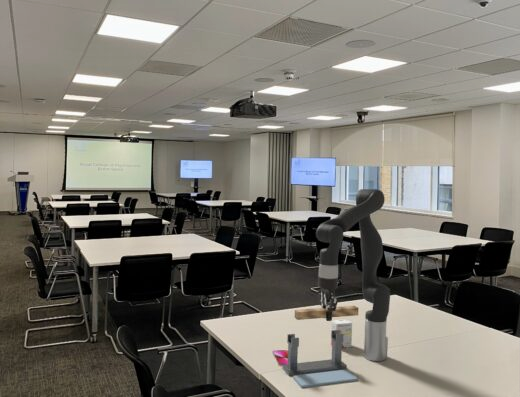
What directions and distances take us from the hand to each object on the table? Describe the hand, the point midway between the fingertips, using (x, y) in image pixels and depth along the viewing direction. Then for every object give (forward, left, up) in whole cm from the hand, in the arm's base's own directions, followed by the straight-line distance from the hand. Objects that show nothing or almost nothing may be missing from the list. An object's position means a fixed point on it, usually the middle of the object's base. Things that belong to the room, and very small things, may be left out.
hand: (326, 319), depth 172 cm
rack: (0, -10, -24) cm, 26 cm away
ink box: (-23, -30, -24) cm, 45 cm away
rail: (0, 0, +1) cm, 1 cm away
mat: (0, 0, -24) cm, 24 cm away
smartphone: (+9, -23, -25) cm, 35 cm away
